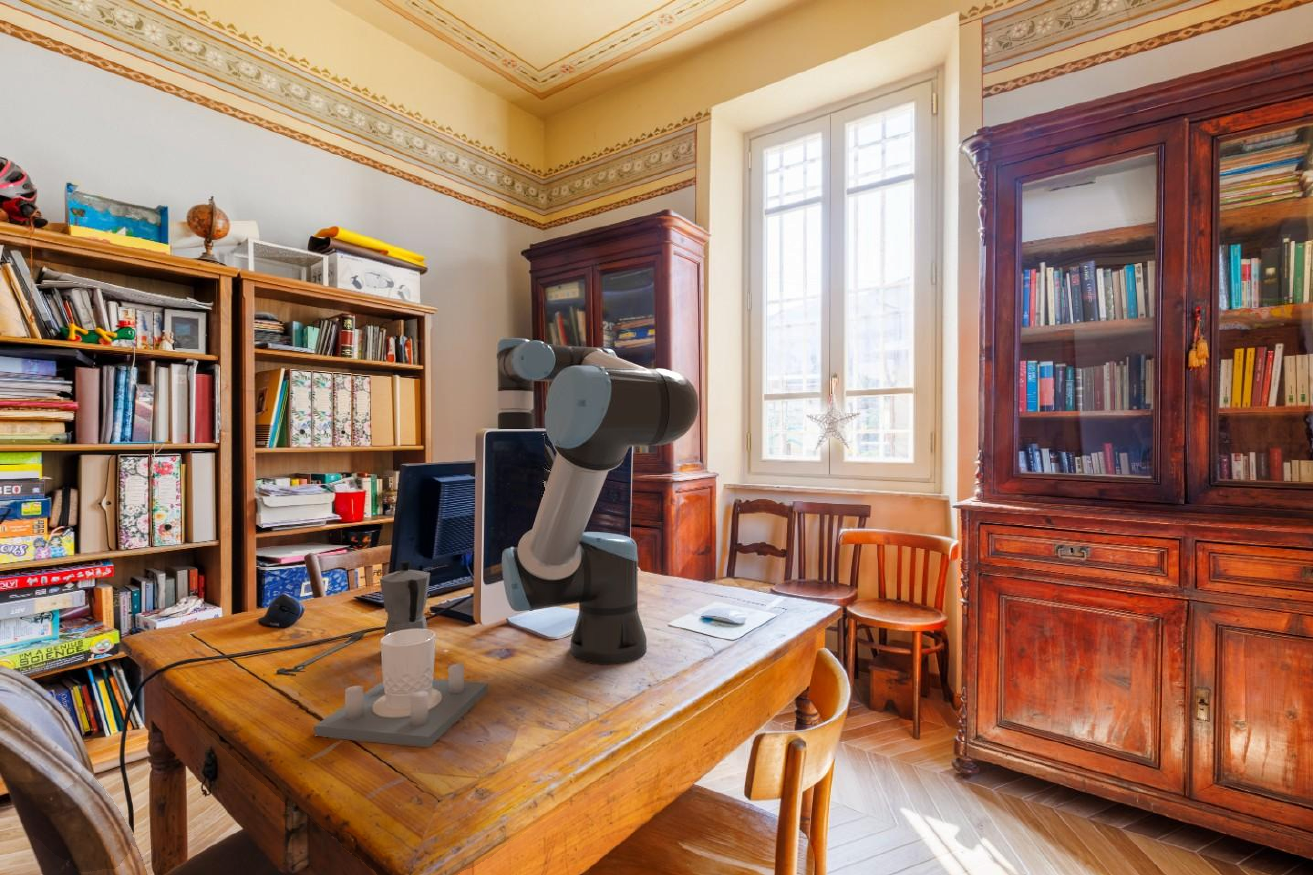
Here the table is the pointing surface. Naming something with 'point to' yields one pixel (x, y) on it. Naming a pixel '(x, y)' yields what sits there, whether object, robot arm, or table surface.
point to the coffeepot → (405, 599)
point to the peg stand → (403, 713)
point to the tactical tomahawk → (320, 655)
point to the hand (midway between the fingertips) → (516, 510)
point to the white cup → (407, 665)
